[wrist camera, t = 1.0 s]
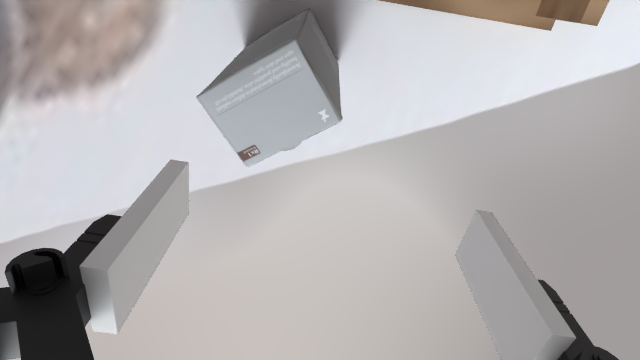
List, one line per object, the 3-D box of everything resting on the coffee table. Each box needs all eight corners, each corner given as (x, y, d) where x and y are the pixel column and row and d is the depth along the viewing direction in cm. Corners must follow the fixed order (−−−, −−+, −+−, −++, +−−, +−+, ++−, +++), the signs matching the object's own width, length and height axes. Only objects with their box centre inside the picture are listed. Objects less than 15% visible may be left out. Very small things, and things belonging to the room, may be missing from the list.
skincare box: (309, 6, 36) (296, 21, 22) (343, 72, 39) (350, 122, 25) (238, 49, 38) (184, 88, 24) (275, 108, 41) (246, 174, 27)
